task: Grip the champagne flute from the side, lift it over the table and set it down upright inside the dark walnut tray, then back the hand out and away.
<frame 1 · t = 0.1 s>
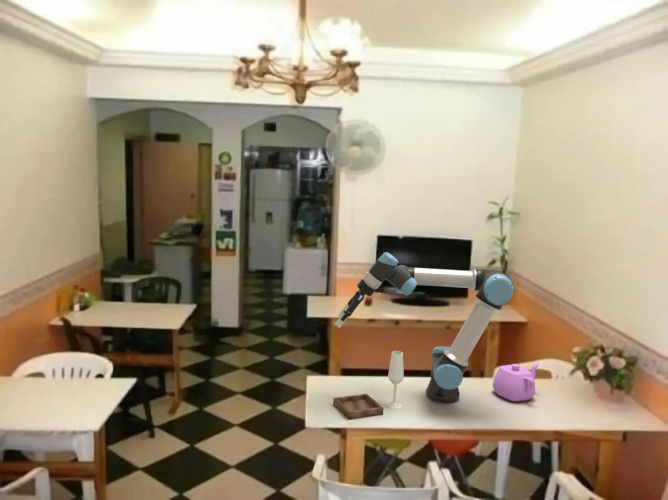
hand: (338, 321, 264), 36 cm above the table, tool tilted 35°, fingers open, 13 cm apart
walnut tray: (357, 409, 261), on the table
teapot: (513, 396, 283), on the table
champagne flute: (394, 406, 267), on the table
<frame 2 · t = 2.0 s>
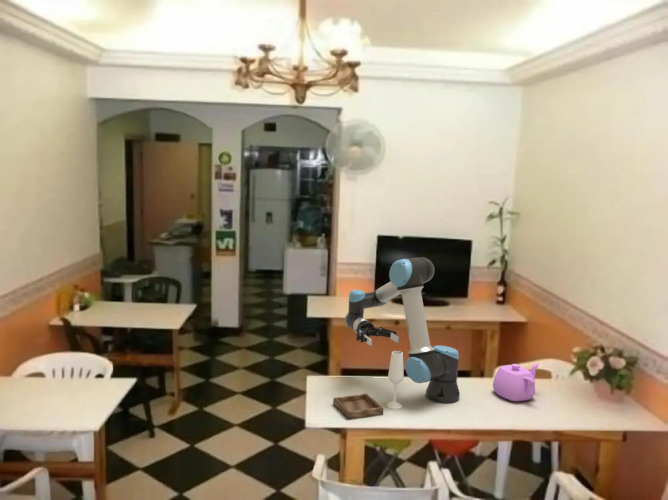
hand: (384, 341, 273), 25 cm above the table, tool horizontal, fingers open, 13 cm apart
nothing on the table moved.
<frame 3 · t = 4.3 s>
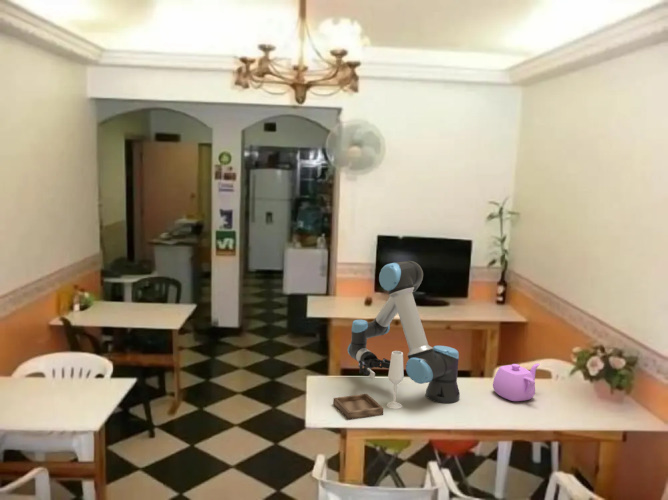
hand: (388, 374, 270), 12 cm above the table, tool horizontal, fingers open, 13 cm apart
nothing on the table moved.
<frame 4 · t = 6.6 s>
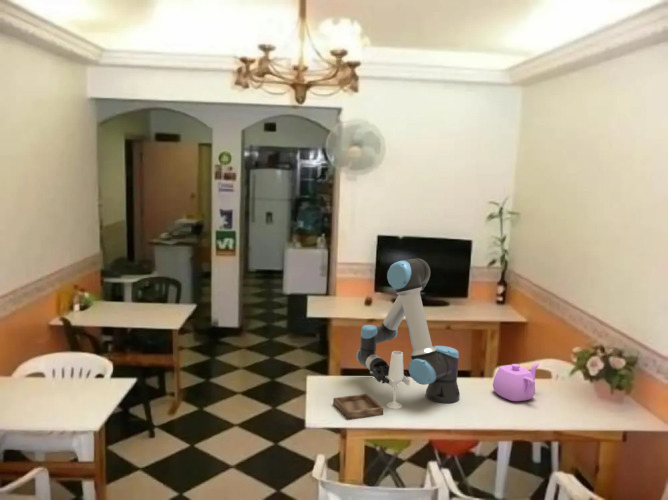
hand: (401, 383, 260), 12 cm above the table, tool horizontal, fingers closed on champagne flute, 7 cm apart
champagne flute: (394, 406, 267), on the table, touching gripper
everything else where it was.
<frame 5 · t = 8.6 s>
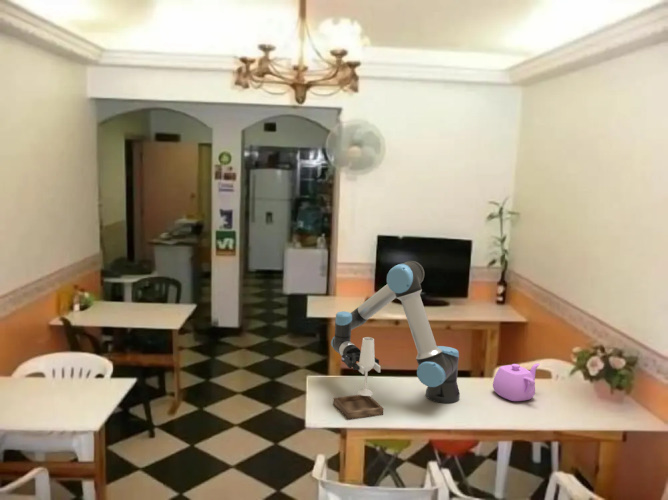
hand: (371, 370, 256), 18 cm above the table, tool horizontal, fingers closed on champagne flute, 7 cm apart
champagne flute: (365, 393, 263), point 6 cm above the table, touching gripper
everything else where it was.
when the fingers open (14 cm above the table, at t = 10.5 s): champagne flute drops 1 cm, resting on walnut tray.
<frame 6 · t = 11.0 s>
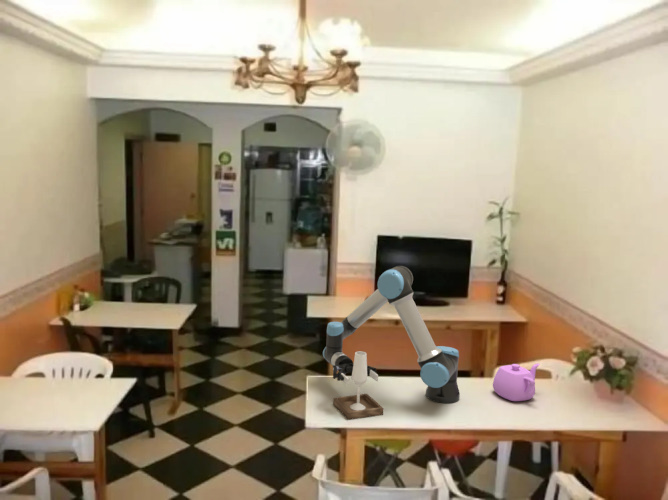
hand: (362, 379, 255), 14 cm above the table, tool horizontal, fingers open, 13 cm apart
champagne flute: (357, 407, 261), point 1 cm above the table, touching walnut tray
everything else where it was.
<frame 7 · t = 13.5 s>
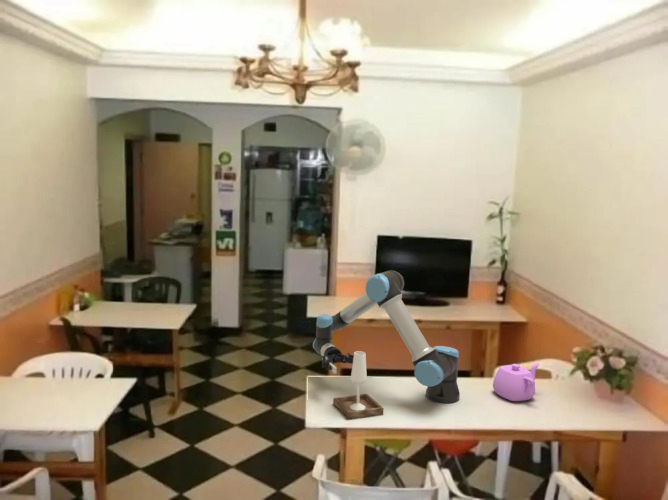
hand: (350, 369, 267), 15 cm above the table, tool horizontal, fingers open, 13 cm apart
nothing on the table moved.
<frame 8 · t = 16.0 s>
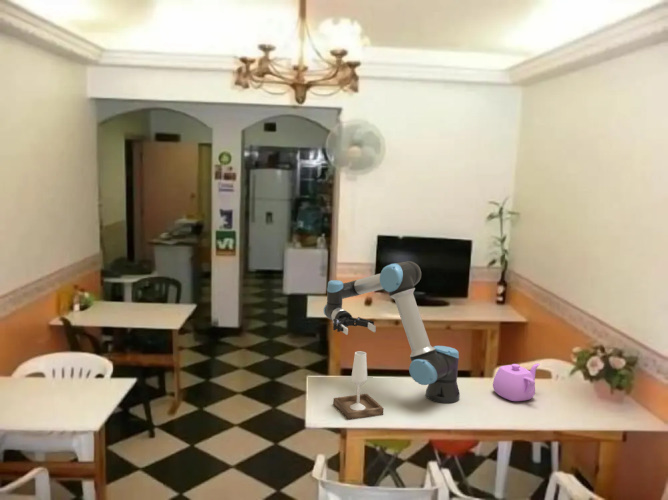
hand: (361, 330, 272), 30 cm above the table, tool horizontal, fingers open, 13 cm apart
nothing on the table moved.
at the end: champagne flute inside the target area on the walnut tray (0.1 cm from its centre), point 0.8 cm above the walnut tray's base; champagne flute tilted 1°; the gripper is holding nothing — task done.
